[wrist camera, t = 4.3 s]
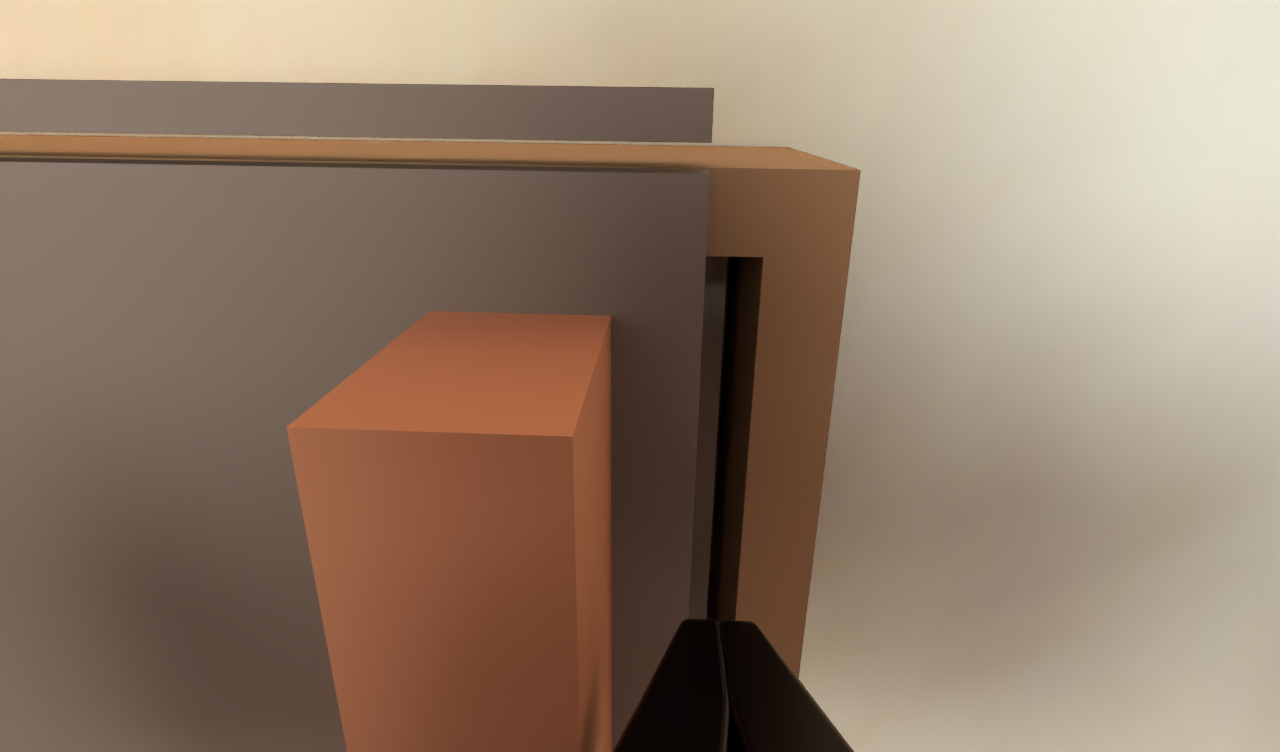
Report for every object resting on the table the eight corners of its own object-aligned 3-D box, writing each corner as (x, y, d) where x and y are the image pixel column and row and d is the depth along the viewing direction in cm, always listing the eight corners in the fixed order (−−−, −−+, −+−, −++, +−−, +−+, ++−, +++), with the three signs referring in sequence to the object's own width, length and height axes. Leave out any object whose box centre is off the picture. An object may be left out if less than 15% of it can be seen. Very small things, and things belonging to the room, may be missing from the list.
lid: (706, 93, 8) (740, 72, 4) (675, 786, 12) (676, 1163, 8) (-458, 77, 9) (-1590, 44, 4) (-118, 744, 13) (-530, 1072, 9)
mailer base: (788, 147, 13) (860, 170, 8) (750, 595, 16) (782, 807, 11) (0, 134, 13) (-401, 148, 8) (131, 569, 17) (-96, 759, 12)
